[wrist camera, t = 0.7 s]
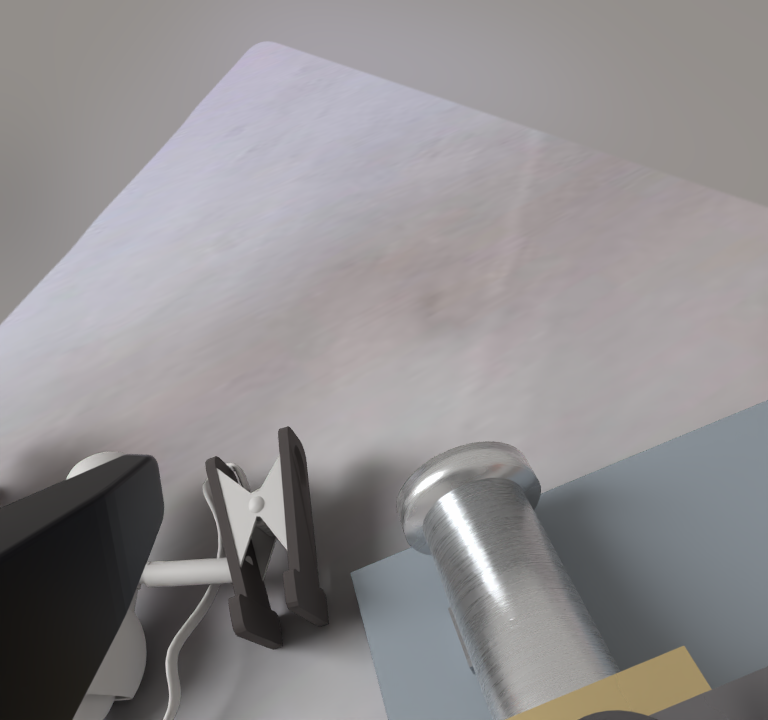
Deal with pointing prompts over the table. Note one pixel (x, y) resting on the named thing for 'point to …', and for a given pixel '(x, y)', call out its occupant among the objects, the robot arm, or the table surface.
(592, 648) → the pipe and valve
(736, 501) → the slate board
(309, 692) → the table surface
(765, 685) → the lever
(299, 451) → the clip-on lamp
